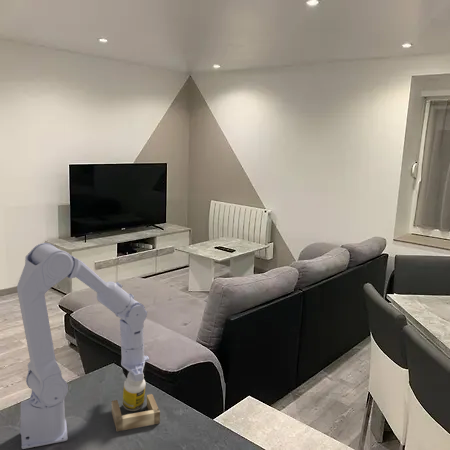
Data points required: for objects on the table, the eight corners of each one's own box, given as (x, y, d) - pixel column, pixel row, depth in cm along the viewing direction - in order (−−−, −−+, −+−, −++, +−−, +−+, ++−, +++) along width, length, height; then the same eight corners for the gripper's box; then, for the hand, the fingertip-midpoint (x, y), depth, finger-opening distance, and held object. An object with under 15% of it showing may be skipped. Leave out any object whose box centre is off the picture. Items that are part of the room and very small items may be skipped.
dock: (116, 431, 106) (116, 420, 106) (111, 411, 114) (111, 400, 113) (159, 423, 110) (159, 412, 109) (152, 404, 118) (152, 393, 117)
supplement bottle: (136, 415, 113) (138, 386, 109) (118, 406, 115) (119, 378, 111) (147, 400, 118) (150, 372, 114) (130, 391, 120) (132, 364, 115)
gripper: (154, 354, 111) (156, 403, 114) (142, 330, 124) (143, 374, 127) (125, 360, 108) (128, 410, 111) (115, 334, 121) (118, 380, 124)
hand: (134, 391), depth 119 cm, fingers closed, pressing on supplement bottle
